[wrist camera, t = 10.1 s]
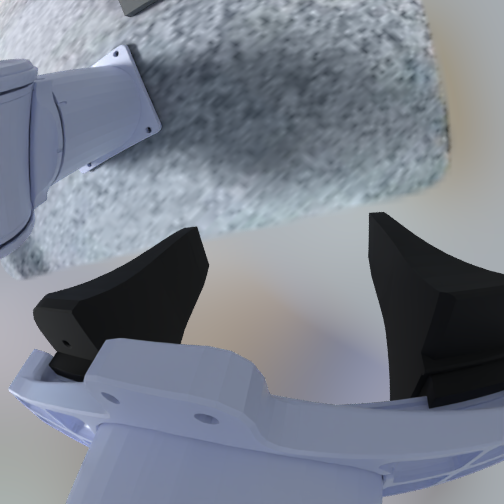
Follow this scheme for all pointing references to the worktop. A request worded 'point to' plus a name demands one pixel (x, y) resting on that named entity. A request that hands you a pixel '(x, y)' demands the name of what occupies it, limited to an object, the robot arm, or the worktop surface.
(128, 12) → the post base
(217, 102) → the worktop surface
